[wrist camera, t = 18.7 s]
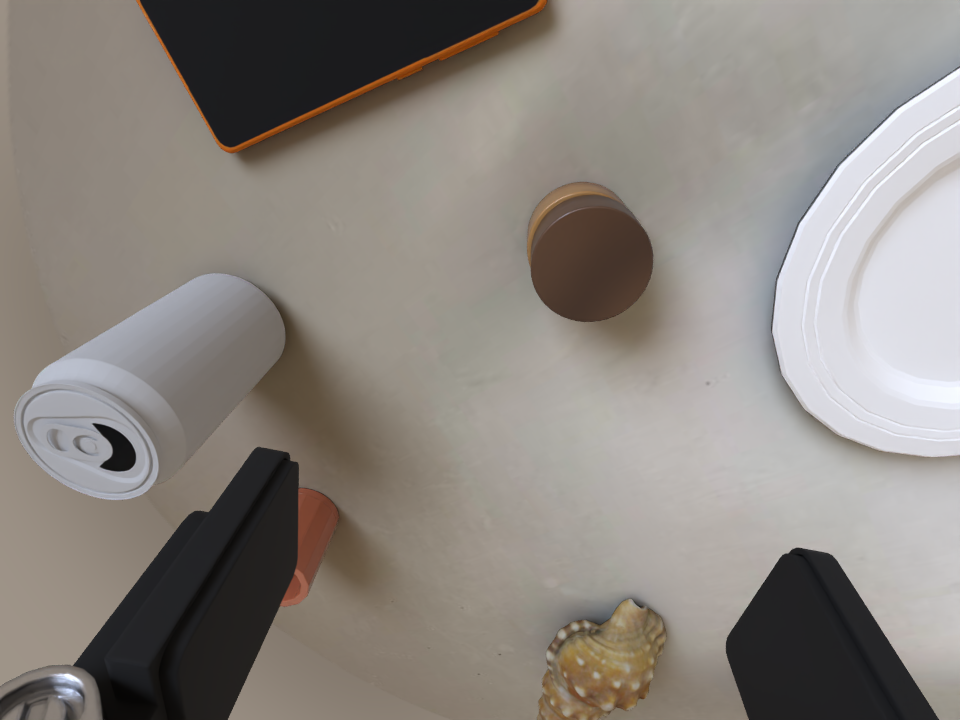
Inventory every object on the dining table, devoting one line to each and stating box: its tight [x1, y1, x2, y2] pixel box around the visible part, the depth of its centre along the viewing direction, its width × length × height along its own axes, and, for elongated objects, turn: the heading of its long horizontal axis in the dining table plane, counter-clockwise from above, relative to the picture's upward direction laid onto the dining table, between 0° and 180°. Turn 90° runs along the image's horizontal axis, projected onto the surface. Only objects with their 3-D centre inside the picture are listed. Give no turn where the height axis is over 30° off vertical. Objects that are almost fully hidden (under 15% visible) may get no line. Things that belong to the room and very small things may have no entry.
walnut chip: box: [531, 195, 653, 322], centre depth 24 cm, size 5×5×2 cm
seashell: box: [537, 599, 667, 720], centre depth 39 cm, size 9×8×10 cm
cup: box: [280, 488, 339, 607], centre depth 35 cm, size 5×5×6 cm
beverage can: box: [14, 273, 286, 500], centre depth 26 cm, size 6×6×12 cm
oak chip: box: [527, 182, 627, 267], centre depth 26 cm, size 5×5×2 cm
